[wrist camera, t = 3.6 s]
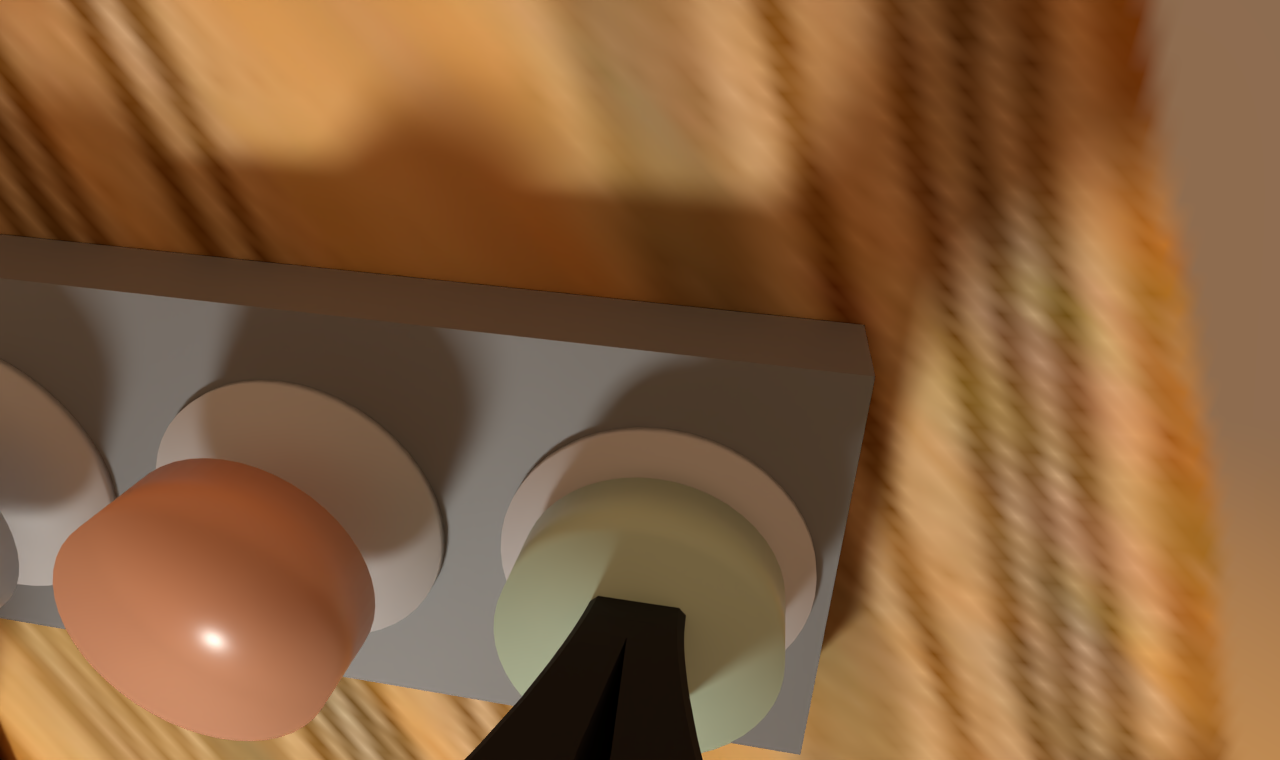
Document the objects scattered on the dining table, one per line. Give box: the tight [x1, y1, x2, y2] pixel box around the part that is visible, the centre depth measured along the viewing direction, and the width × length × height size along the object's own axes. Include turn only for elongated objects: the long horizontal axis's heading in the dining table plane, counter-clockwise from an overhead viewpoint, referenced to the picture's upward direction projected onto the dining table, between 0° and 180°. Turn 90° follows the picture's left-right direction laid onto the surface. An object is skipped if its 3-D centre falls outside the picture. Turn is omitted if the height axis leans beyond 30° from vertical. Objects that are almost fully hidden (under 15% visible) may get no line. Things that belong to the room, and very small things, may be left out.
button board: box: [0, 234, 875, 755], centre depth 16 cm, size 19×8×2 cm, turn 87°
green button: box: [494, 477, 786, 753], centre depth 13 cm, size 4×4×1 cm
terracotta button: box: [53, 458, 375, 741], centre depth 13 cm, size 4×4×1 cm
